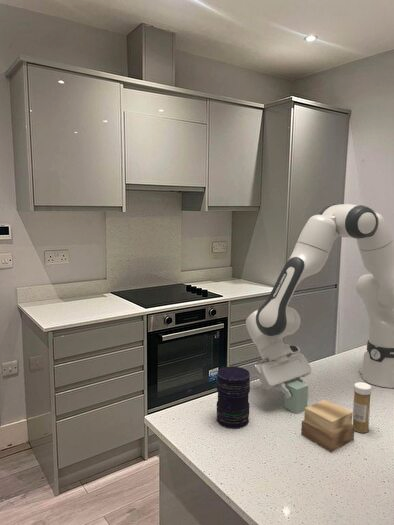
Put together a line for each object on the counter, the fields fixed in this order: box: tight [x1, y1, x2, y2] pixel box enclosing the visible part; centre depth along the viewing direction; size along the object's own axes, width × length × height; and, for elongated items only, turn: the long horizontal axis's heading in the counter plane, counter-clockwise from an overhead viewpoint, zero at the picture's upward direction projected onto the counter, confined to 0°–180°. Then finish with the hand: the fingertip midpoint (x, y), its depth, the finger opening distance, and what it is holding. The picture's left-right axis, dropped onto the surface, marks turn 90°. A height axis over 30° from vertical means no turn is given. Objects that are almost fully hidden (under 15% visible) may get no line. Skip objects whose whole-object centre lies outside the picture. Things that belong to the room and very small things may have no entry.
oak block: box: [303, 399, 353, 436], centre depth 112 cm, size 9×9×4 cm
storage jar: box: [216, 366, 251, 430], centre depth 121 cm, size 10×10×15 cm
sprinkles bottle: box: [352, 381, 372, 434], centre depth 116 cm, size 5×5×14 cm
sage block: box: [283, 380, 309, 415], centre depth 128 cm, size 5×5×8 cm
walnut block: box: [300, 419, 355, 453], centre depth 113 cm, size 10×10×4 cm
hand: (297, 394), depth 128 cm, fingers closed on sage block, 5 cm apart
